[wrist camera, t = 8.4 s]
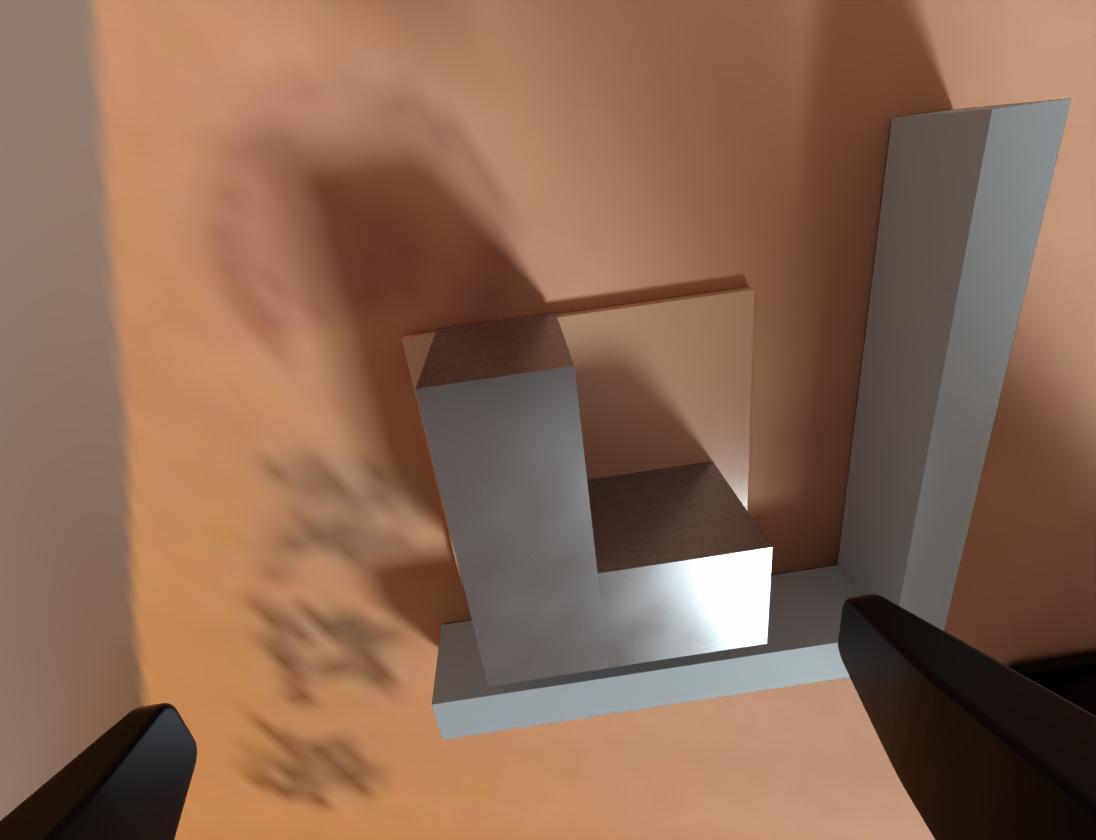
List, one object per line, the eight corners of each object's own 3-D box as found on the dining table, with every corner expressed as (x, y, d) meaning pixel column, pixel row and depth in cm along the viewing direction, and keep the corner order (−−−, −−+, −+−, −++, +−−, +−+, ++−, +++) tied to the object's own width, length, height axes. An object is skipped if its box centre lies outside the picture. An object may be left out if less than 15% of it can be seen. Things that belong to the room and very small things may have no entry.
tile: (749, 287, 15) (754, 289, 14) (742, 537, 18) (746, 542, 18) (403, 335, 15) (401, 339, 14) (461, 579, 18) (461, 585, 18)
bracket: (712, 544, 18) (767, 643, 14) (490, 577, 18) (488, 686, 14) (712, 289, 14) (783, 335, 11) (436, 328, 14) (415, 388, 11)
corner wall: (954, 109, 13) (1071, 98, 11) (876, 593, 20) (935, 663, 17) (324, 195, 13) (278, 206, 10) (450, 657, 19) (442, 739, 17)
